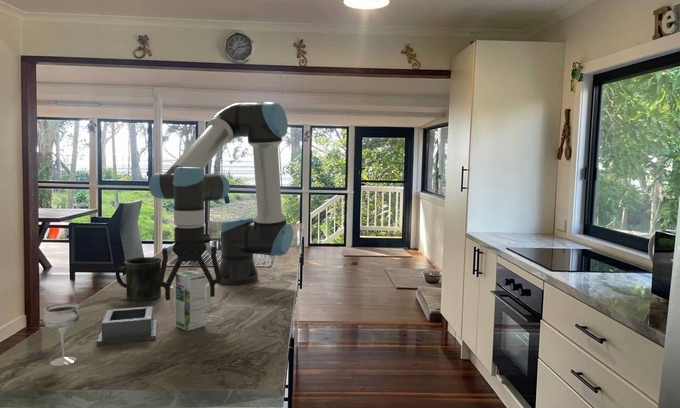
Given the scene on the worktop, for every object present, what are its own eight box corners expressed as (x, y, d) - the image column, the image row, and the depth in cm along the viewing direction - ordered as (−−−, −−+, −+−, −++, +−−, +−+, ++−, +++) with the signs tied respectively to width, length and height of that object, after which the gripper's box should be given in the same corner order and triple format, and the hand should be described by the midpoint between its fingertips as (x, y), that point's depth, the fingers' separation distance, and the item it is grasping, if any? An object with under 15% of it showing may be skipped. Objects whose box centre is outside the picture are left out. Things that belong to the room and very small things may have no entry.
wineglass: (42, 369, 99) (40, 313, 98) (47, 357, 105) (45, 304, 104) (79, 364, 102) (77, 310, 101) (82, 353, 108) (80, 301, 107)
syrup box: (174, 326, 126) (174, 273, 125) (194, 321, 131) (193, 269, 130) (186, 331, 123) (185, 276, 121) (206, 326, 127) (205, 272, 126)
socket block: (157, 322, 129) (157, 304, 129) (155, 339, 117) (155, 319, 116) (104, 327, 125) (103, 309, 124) (96, 345, 113) (96, 325, 112)
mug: (154, 302, 148) (153, 264, 147) (108, 301, 149) (107, 263, 148) (167, 292, 159) (167, 257, 158) (124, 291, 159) (123, 256, 158)
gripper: (229, 223, 131) (230, 302, 133) (146, 225, 124) (147, 309, 126) (232, 226, 124) (233, 310, 126) (144, 229, 117) (146, 318, 119)
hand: (190, 310), depth 126 cm, fingers open, 9 cm apart
